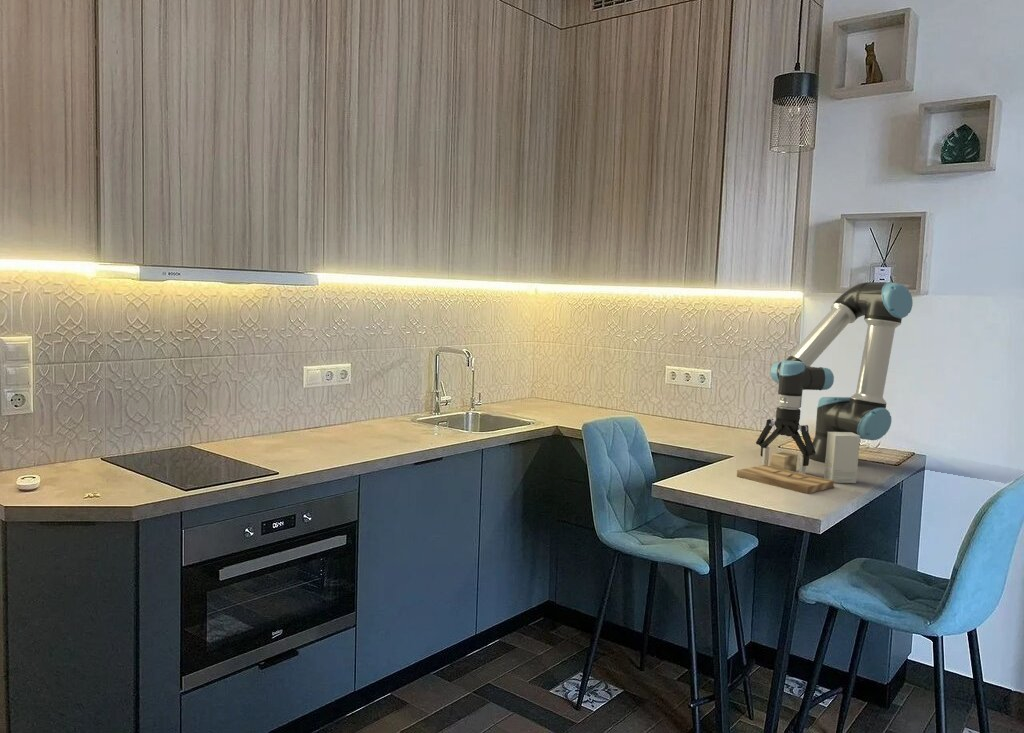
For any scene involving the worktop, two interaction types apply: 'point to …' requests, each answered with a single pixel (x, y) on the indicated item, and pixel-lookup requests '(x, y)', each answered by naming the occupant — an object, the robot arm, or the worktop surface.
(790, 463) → the block
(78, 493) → the worktop surface
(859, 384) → the robot arm
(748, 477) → the board
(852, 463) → the skincare box
